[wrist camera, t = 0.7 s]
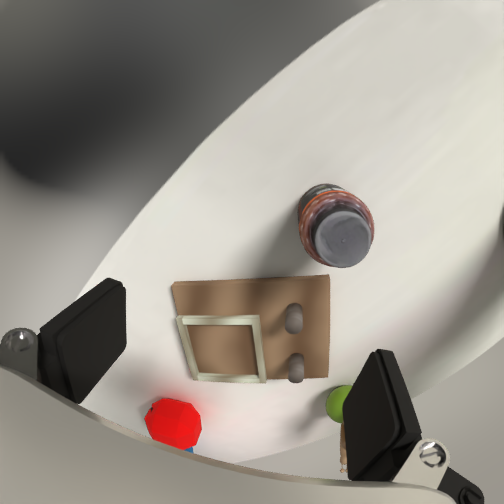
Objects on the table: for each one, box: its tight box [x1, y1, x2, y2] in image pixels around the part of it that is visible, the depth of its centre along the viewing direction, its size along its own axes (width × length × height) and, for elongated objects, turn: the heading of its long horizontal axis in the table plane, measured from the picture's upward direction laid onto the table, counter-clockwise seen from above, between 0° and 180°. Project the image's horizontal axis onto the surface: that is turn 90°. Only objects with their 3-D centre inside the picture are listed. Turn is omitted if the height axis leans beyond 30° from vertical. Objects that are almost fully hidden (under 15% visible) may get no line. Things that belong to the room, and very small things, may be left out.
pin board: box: [171, 275, 330, 383], centre depth 33 cm, size 18×14×5 cm
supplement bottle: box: [298, 184, 374, 268], centre depth 24 cm, size 6×6×11 cm
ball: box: [144, 399, 202, 450], centre depth 39 cm, size 8×8×8 cm
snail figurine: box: [326, 385, 352, 473], centre depth 31 cm, size 5×6×12 cm
